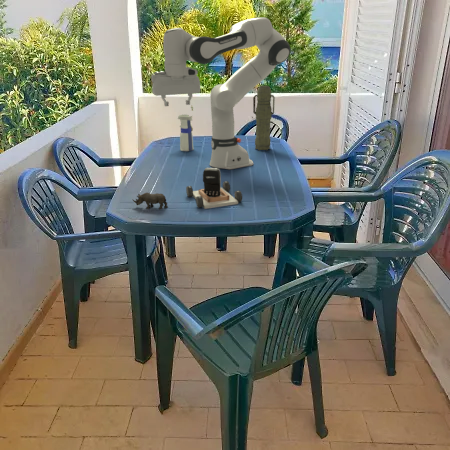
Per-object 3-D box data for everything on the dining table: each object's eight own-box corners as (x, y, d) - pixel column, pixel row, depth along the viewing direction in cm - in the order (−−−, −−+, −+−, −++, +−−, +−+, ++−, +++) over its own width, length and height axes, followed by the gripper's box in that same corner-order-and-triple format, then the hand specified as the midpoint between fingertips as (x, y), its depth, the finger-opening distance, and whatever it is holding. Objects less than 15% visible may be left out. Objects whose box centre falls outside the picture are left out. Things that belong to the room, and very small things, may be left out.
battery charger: (202, 197, 178) (201, 169, 174) (204, 193, 182) (204, 167, 177) (219, 198, 177) (219, 170, 173) (221, 194, 181) (221, 168, 176)
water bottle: (187, 146, 260) (185, 103, 250) (196, 149, 255) (195, 105, 245) (176, 149, 255) (174, 105, 245) (186, 151, 250) (184, 107, 239)
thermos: (252, 146, 260) (253, 85, 246) (272, 147, 259) (275, 85, 244) (251, 150, 252) (253, 87, 238) (272, 150, 251) (274, 87, 236)
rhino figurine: (135, 204, 175) (133, 190, 172) (168, 206, 173) (167, 191, 170) (131, 208, 171) (130, 194, 168) (165, 210, 169) (165, 195, 167)
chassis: (225, 189, 190) (225, 179, 189) (242, 203, 175) (242, 192, 173) (186, 194, 184) (185, 184, 183) (199, 209, 169) (199, 198, 167)
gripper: (152, 72, 175) (155, 108, 181) (201, 70, 182) (202, 104, 188) (149, 71, 180) (151, 105, 186) (196, 69, 187) (197, 102, 193)
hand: (177, 105), depth 187 cm, fingers open, 8 cm apart
